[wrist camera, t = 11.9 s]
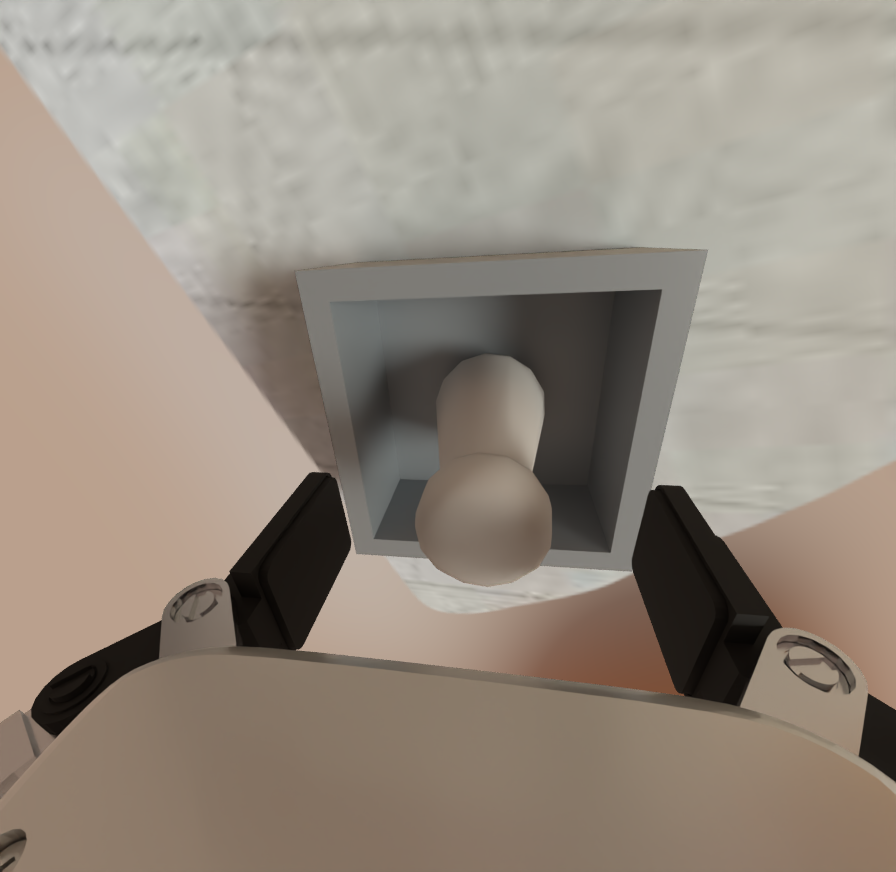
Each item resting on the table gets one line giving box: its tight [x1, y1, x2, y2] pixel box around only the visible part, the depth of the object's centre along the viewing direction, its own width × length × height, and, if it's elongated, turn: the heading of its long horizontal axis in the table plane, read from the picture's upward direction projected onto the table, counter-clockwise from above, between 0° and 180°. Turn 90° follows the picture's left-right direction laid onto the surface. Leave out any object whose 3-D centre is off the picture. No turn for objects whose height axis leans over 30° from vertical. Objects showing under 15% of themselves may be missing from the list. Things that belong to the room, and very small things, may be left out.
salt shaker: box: [415, 353, 552, 587], centre depth 17 cm, size 6×6×13 cm
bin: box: [295, 247, 708, 572], centre depth 20 cm, size 15×15×7 cm
